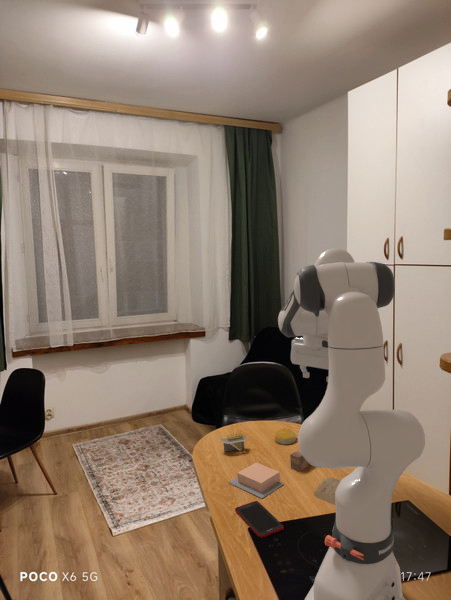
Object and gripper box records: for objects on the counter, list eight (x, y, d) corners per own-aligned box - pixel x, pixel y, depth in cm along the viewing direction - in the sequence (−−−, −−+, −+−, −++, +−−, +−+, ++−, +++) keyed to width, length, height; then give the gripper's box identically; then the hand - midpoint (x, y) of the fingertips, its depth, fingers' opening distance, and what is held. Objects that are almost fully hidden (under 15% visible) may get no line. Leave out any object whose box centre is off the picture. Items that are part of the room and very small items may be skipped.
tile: (279, 480, 137) (261, 492, 130) (256, 470, 144) (238, 481, 138) (279, 471, 136) (261, 483, 130) (256, 462, 144) (237, 472, 137)
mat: (261, 498, 128) (261, 497, 128) (229, 483, 138) (229, 482, 138) (283, 484, 135) (283, 483, 135) (250, 470, 145) (250, 469, 145)
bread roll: (273, 445, 164) (273, 435, 164) (276, 435, 173) (276, 425, 172) (295, 446, 162) (295, 435, 162) (297, 436, 171) (296, 426, 170)
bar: (299, 471, 143) (298, 457, 142) (290, 468, 145) (290, 454, 145) (326, 454, 154) (325, 441, 153) (317, 452, 156) (317, 439, 156)
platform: (262, 454, 157) (262, 437, 156) (215, 463, 152) (214, 445, 152) (252, 441, 168) (251, 425, 168) (208, 449, 164) (207, 432, 163)
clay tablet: (341, 511, 120) (341, 502, 120) (310, 498, 127) (310, 490, 127) (364, 489, 131) (363, 480, 131) (334, 479, 138) (334, 471, 138)
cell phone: (257, 503, 126) (256, 500, 126) (285, 530, 113) (285, 526, 113) (233, 511, 123) (233, 508, 123) (260, 540, 110) (260, 536, 110)
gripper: (286, 338, 149) (287, 377, 150) (337, 344, 135) (339, 387, 136) (296, 335, 154) (298, 373, 155) (348, 341, 139) (349, 382, 140)
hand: (317, 379), depth 145 cm, fingers open, 8 cm apart
